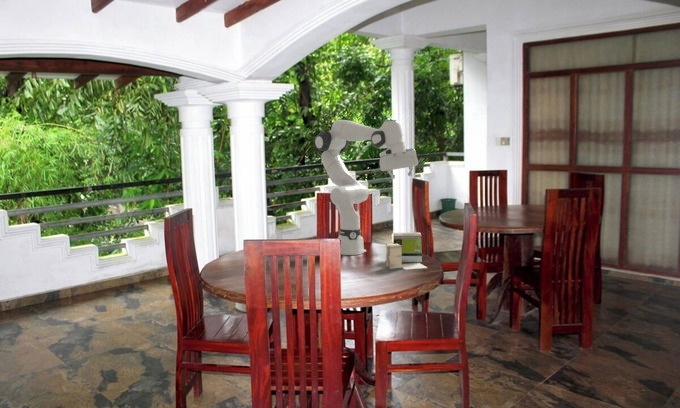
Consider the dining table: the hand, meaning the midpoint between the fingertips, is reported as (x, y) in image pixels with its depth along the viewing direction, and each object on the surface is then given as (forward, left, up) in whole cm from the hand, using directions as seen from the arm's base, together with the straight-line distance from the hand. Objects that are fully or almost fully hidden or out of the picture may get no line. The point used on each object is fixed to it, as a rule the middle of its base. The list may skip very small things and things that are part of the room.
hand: (401, 177), depth 302 cm
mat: (+6, +4, -46) cm, 46 cm away
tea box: (-8, +6, -46) cm, 47 cm away
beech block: (+6, -6, -46) cm, 47 cm away
